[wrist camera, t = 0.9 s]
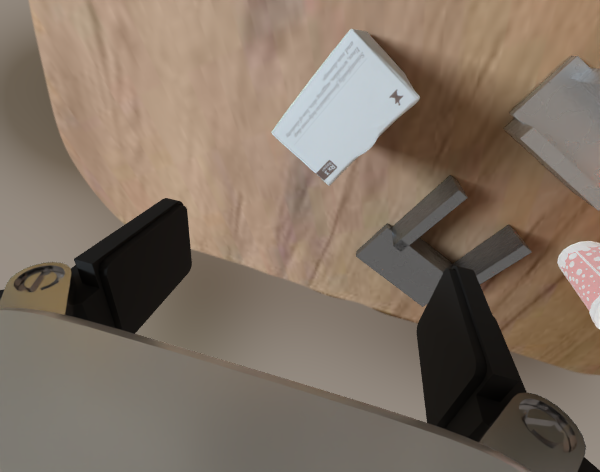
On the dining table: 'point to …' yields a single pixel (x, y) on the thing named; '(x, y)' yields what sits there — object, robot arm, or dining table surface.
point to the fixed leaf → (426, 260)
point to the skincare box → (345, 106)
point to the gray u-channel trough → (564, 127)
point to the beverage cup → (584, 274)
